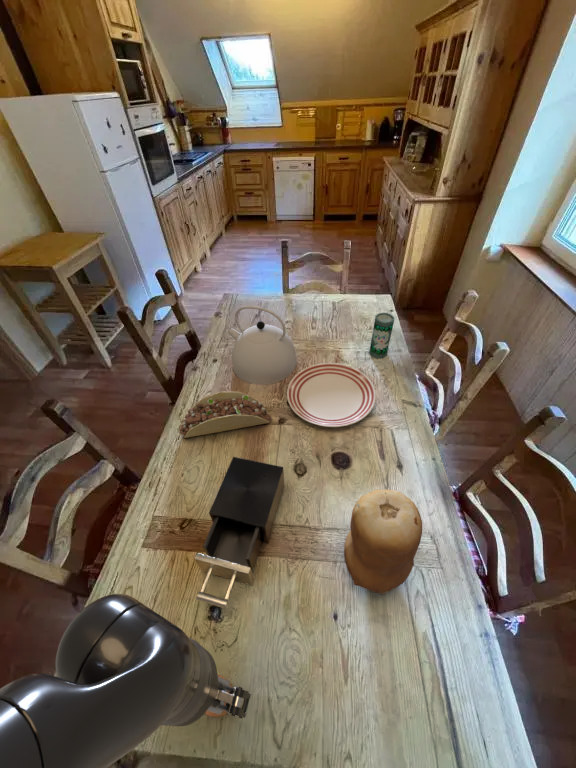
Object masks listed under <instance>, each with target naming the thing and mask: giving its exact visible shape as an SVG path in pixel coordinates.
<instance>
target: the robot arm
mask: <svg viewBox="0 0 576 768" xmlns="http://www.w3.org/2000/svg"><path fill="white" fill-rule="evenodd" d="M55 674H56V675H53V674H49V673H43V672H40V673H29V674H26V675H23V676H21V677H19V678H16V679H15V680H12V681H11V682H9V683H7V684H6V685H4V686H2V687H1V688H0V768H109V767H110V766H112V765H113V764H115V763H116V762H117V761H119V760H121V759H122V758H123V757H125V756H126V755H127V754H129V753H131V752H132V751H133V750H134V749H137V747H138V746H140V745H141V744H142V743H143V742H144V741H146V740H147V739H149V738H150V737H151V736H152V735H153V734H154V733H155V732H156V731H157V730H158V729H159V728H160V727H162V726H164V727H186V726H189V725H192V724H194V723H195V722H197V721H198V720H200V719H201V718H202V717H203V716H204V715H205V712H206V711H207V710H208V711H211V712H214V713H216V714H221V712H222V711H223V710H224V711H227V714H228V715H231V716H232V717H234V718H235V717H236V716H237V717H238V719H243V718H244V719H246V717H247V710H248V706H249V702H250V699H251V696H252V694H251V693H250V692H249V691H248V690H244V689H243V687H242V686H238V687H236V686H233V687H230V682H231V681H230V680H229V679H227V678H226V679H227V680H226V679H224V678H225V677H224V678H221V677H219V676H218V675H219V673H218V668H217V664H216V661H215V659H214V657H213V655H212V654H211V653H210V652H209V651H208V650H207V649H206V648H205V647H204V646H203V645H201V644H200V643H199V642H198V641H197V640H195V639H193V638H192V637H190V636H188V635H187V633H186V632H185V631H184V630H183V629H182V628H181V627H179V626H178V625H176V624H174V623H173V622H171V621H170V620H168V619H167V618H165V617H164V616H163V615H161V614H159V613H157V612H156V611H154V610H153V609H151V608H150V607H148V606H146V605H145V603H142V602H141V601H140V600H138V599H136V598H135V597H133V596H131V595H128V594H126V593H111V594H107V595H104V596H102V597H100V598H97V599H95V600H94V601H92V602H90V603H89V604H88V605H87V606H85V607H84V608H83V609H82V610H81V611H80V612H79V613H78V614H76V615H75V617H74V618H72V620H71V622H70V623H69V624H68V625H67V627H66V628H65V630H64V632H63V634H62V636H61V638H60V640H59V643H58V646H57V650H56V655H55ZM228 680H229V681H230V682H229V681H228ZM228 691H229V693H227V692H228ZM224 702H225V703H226V705H224Z"/></svg>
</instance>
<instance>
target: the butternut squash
mask: <svg viewBox="0 0 576 768" xmlns="http://www.w3.org/2000/svg"><path fill="white" fill-rule="evenodd" d="M349 528H350V530H349V531H348V533H347V535H346V537H345V541H344V546H343V558H344V559H343V560H344V563H345V566H346V569H347V572H348V574H349V576H350V577H351V578H352V580H353V585H354V586H358V587H360V588H363V589H364V590H367V591H370V592H373V593H376V594H380V595H385V594H386V593H388V592H390V591H394V590H395V589H396V588H398V587H400V586H401V585H402V584H403V583H405V581H406V580H407V579H408V577H409V576H410V574H411V572H412V570H413V568H414V566H415V563H414V559H415V556H416V554H417V552H418V550H419V546H420V544H421V542H422V541H421V540H422V535H423V519H422V516H421V513H420V511H419V509H418V507H417V505H416V504H415V502H414V501H413V500H412V499H410V498H409V497H408V496H407V495H405V494H404V493H403V492H400V491H397V490H392V489H375V490H372V491H370V492H369V493H366V494H365V495H361V496H360V497H359V498H358V500H357V501H356V502H355V505H354V506H353V508H352V511H351V517H350V527H349Z"/></svg>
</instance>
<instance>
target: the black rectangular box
mask: <svg viewBox="0 0 576 768" xmlns="http://www.w3.org/2000/svg"><path fill="white" fill-rule="evenodd" d="M284 471H285V470H284V466H280V465H275V464H271V463H265V462H260V461H256V460H252V459H246V458H242V457H236V456H233V457H232V459H231V460H230V464H229V466H228V468H227V471H226V473H225V475H224V476H223V479H222V482H221V484H220V486H219V489H218V491H217V493H216V496H215V498H214V500H213V503H212V504H211V508H210V510H209V512H208V514H209V516H210V519H211V522H212V523H213V522H214V519H215V517H220V518H225V519H229V520H233V521H237V522H241V523H245V524H249V525H253V526H257V527H261V528H262V531H263V540H262V543H263V544H266V545H269V543H270V539H271V536H272V532H273V529H274V525H275V523H276V519H277V514H278V511H279V507H280V504H281V501H282V497H283V494H284V491H285V488H286V487H285V473H284ZM262 543H261V544H262Z"/></svg>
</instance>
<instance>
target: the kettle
mask: <svg viewBox="0 0 576 768" xmlns="http://www.w3.org/2000/svg"><path fill="white" fill-rule="evenodd" d="M246 309H249V310H250V309H251V310H257V311H262V312H263V311H264V312H266V313H268V314H271V315H272V316H273V317H274V318H276V319H277V320H278V321H279V322H280V324H281V327H282V329H281V328H280V327H277V326H275V325H273V324H272V325H271V324H267V323H266V324H265V322H263V321H262V320H260V321H259V320H258V321H257V323H256V325H253V326H250V327H248V328H246V329H245V330H243V328H242V326H241V325H240V323H239V319H238V314H239V312H241V311H242V310H246ZM234 320H235V323H236V326H237V328H238V329H239V331H240V332H239V331H238V330H236V329H234V327H230V328H228V329H226V332H227V334H229V335H230V336H231V338H233V339H234V340H235V341H234V343H233V346H232V351H231V363H232V369H233V372H234V373H235V375H236V376H237V378H239V379H240V380H241V381H243V382H246V383H248V384H252V385H259V386H260V385H262V386H263V385H271V384H272V385H273V384H275V383H279V382H281V381H284V380H285V379H287V378H288V377H290V376H291V375H292V373H293V372H294V371H295V369H296V367H297V354H296V348H295V345H294V343H293V341H292V339H291V337H290V336H289V335H288V334H287V333H286V331H287V330H286V325H285V323H284V321H283V319H282V318H281V317H280V316H279V315H278V314H277V313H275V312H274V311H272V310H271V309H268V308H264V307H261V306H255V305H244V306H240V307H239V308H237V309H236V311H235V313H234Z"/></svg>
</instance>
